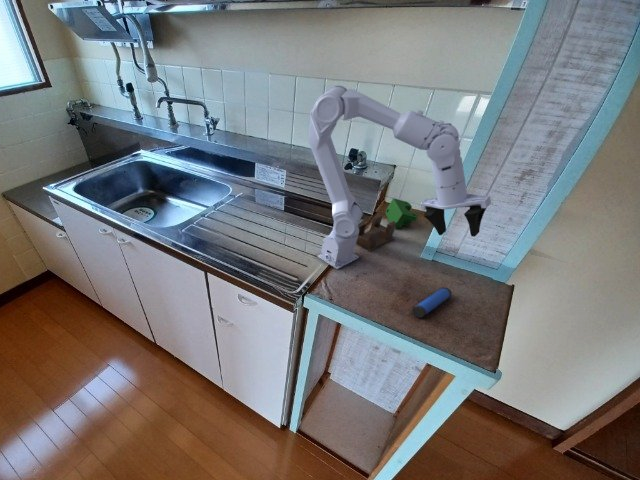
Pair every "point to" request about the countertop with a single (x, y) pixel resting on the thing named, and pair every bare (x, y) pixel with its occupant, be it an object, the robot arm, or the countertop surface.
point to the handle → (431, 302)
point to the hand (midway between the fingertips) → (458, 233)
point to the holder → (375, 234)
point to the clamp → (400, 213)
